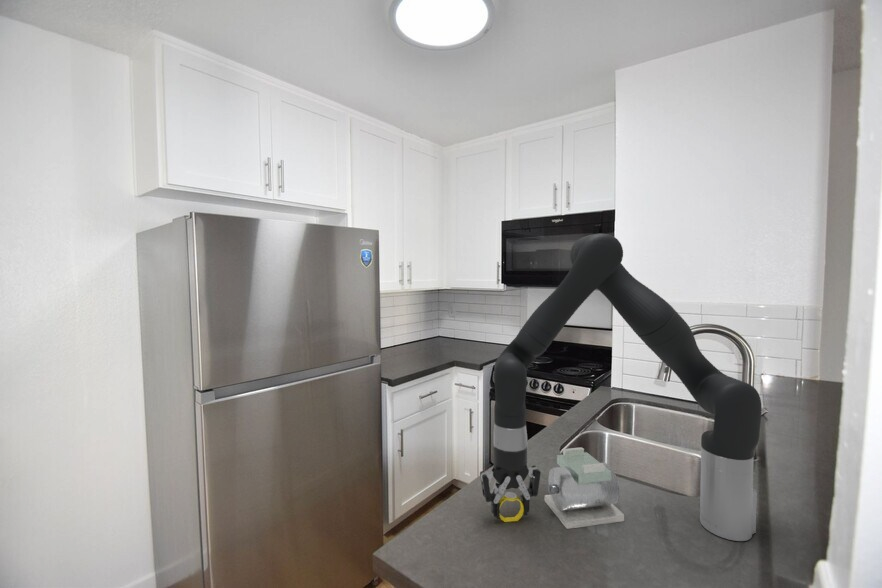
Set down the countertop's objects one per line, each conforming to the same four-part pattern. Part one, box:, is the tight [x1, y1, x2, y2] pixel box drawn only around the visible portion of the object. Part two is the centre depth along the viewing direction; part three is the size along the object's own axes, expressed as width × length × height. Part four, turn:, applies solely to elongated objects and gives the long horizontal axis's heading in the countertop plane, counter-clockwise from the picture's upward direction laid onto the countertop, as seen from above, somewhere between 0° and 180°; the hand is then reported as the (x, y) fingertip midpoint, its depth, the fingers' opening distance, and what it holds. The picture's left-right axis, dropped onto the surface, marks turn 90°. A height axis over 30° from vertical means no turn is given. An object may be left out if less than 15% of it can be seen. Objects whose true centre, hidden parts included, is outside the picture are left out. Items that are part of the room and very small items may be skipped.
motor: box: [544, 447, 625, 530], centre depth 92 cm, size 16×11×13 cm
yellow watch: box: [499, 491, 524, 523], centre depth 89 cm, size 6×3×6 cm, turn 97°
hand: (510, 515), depth 89 cm, fingers closed on yellow watch, 6 cm apart
